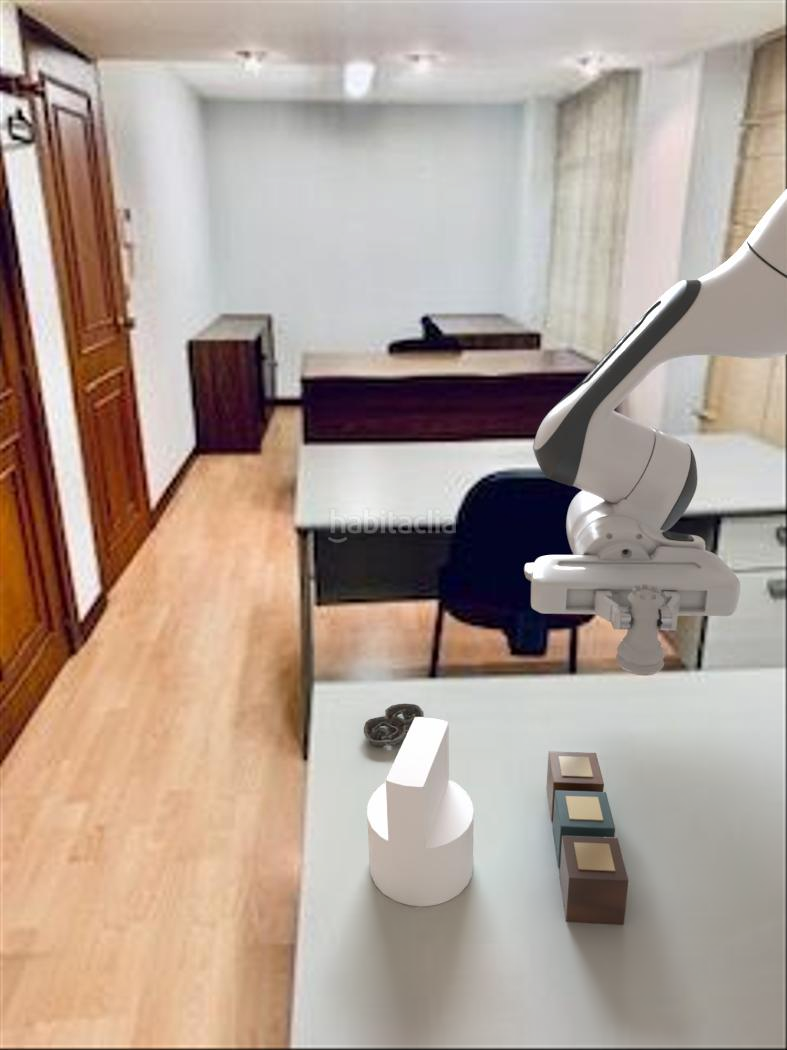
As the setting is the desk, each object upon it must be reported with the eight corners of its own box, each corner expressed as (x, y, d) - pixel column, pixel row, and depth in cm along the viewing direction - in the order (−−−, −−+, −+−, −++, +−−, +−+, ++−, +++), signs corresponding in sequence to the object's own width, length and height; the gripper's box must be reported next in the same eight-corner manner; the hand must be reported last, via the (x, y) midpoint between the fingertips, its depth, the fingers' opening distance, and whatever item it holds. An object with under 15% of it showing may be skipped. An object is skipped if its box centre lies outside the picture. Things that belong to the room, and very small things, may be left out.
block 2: (613, 879, 64) (617, 836, 62) (624, 924, 60) (628, 879, 58) (559, 877, 64) (562, 834, 63) (565, 921, 60) (568, 877, 58)
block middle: (602, 831, 69) (606, 790, 67) (611, 870, 65) (615, 827, 63) (552, 829, 69) (554, 788, 68) (558, 867, 65) (560, 825, 64)
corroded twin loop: (434, 721, 85) (434, 713, 85) (387, 756, 80) (386, 748, 79) (400, 704, 88) (400, 697, 88) (353, 737, 83) (352, 729, 82)
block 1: (593, 790, 74) (596, 751, 72) (600, 823, 70) (604, 783, 68) (546, 788, 74) (548, 750, 73) (551, 821, 70) (553, 781, 69)
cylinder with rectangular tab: (460, 917, 61) (461, 796, 56) (355, 893, 63) (347, 775, 59) (482, 837, 69) (483, 725, 65) (387, 818, 71) (383, 710, 67)
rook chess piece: (605, 659, 74) (611, 585, 71) (642, 648, 76) (649, 575, 73) (636, 682, 70) (643, 604, 67) (674, 670, 72) (683, 594, 69)
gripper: (523, 535, 83) (533, 591, 70) (717, 536, 81) (764, 593, 68) (521, 587, 85) (531, 650, 72) (710, 589, 83) (754, 655, 70)
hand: (646, 623), depth 70 cm, fingers closed on rook chess piece, 3 cm apart
